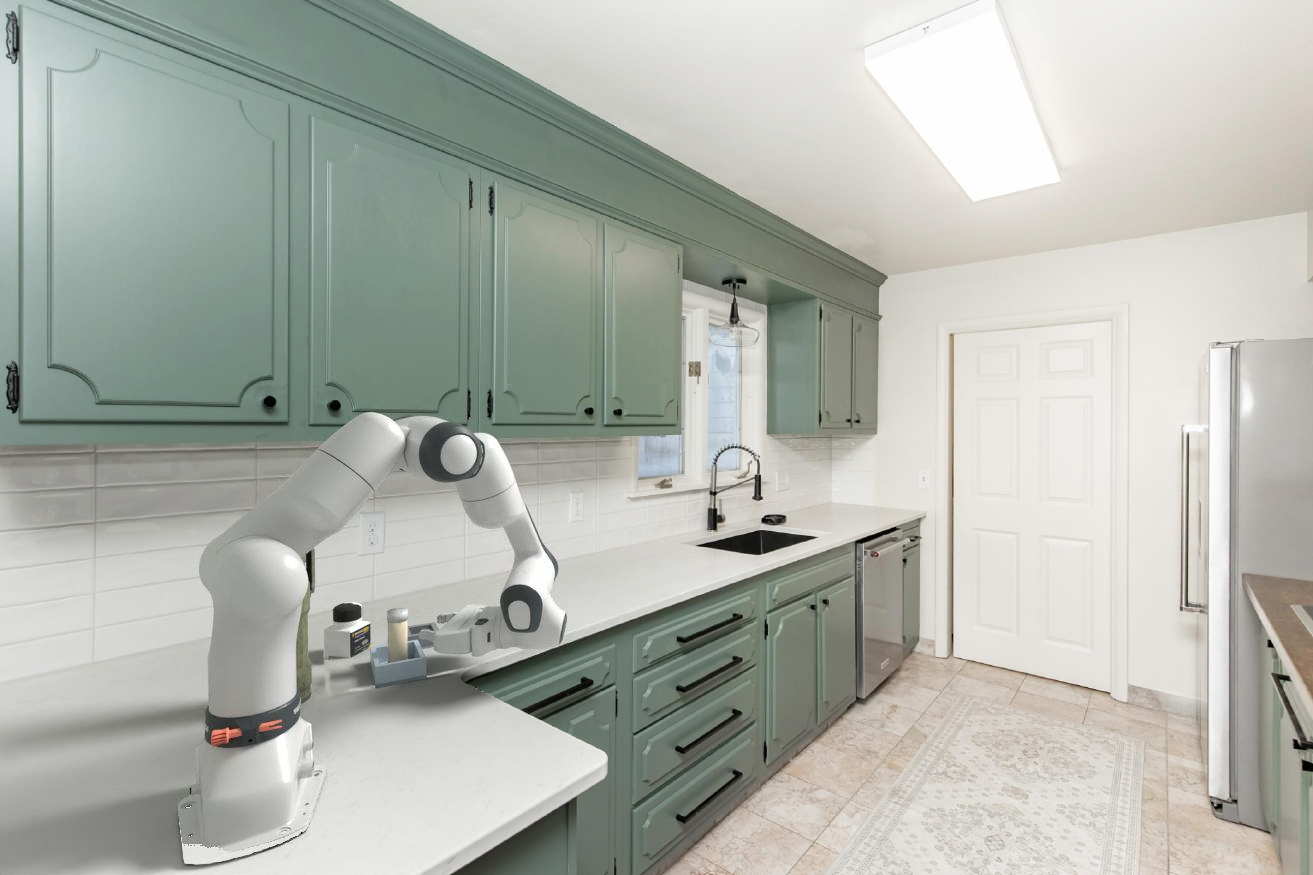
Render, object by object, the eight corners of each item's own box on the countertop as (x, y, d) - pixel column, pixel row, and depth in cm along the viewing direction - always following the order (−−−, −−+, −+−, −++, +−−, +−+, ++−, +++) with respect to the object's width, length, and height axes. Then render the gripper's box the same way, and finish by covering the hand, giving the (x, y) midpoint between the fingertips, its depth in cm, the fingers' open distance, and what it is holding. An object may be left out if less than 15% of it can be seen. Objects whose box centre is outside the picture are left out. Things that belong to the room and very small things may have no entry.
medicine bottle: (350, 662, 140) (350, 610, 140) (323, 659, 142) (322, 608, 141) (371, 650, 147) (370, 601, 147) (345, 647, 149) (344, 598, 148)
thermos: (240, 709, 118) (237, 528, 117) (296, 683, 129) (293, 518, 128) (274, 717, 115) (270, 531, 113) (327, 690, 126) (325, 521, 125)
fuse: (409, 670, 134) (409, 611, 134) (388, 674, 132) (388, 614, 132) (406, 663, 138) (406, 606, 137) (386, 667, 136) (386, 609, 135)
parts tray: (426, 678, 132) (426, 657, 132) (375, 688, 127) (375, 667, 127) (417, 658, 143) (417, 639, 143) (370, 667, 138) (370, 647, 138)
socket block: (446, 648, 149) (446, 632, 149) (402, 656, 144) (402, 639, 144) (439, 635, 157) (438, 619, 157) (396, 642, 153) (396, 626, 152)
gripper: (505, 598, 144) (447, 597, 145) (476, 629, 124) (409, 628, 124) (505, 624, 144) (447, 623, 145) (476, 660, 124) (409, 658, 125)
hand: (429, 625), depth 134 cm, fingers open, 8 cm apart
